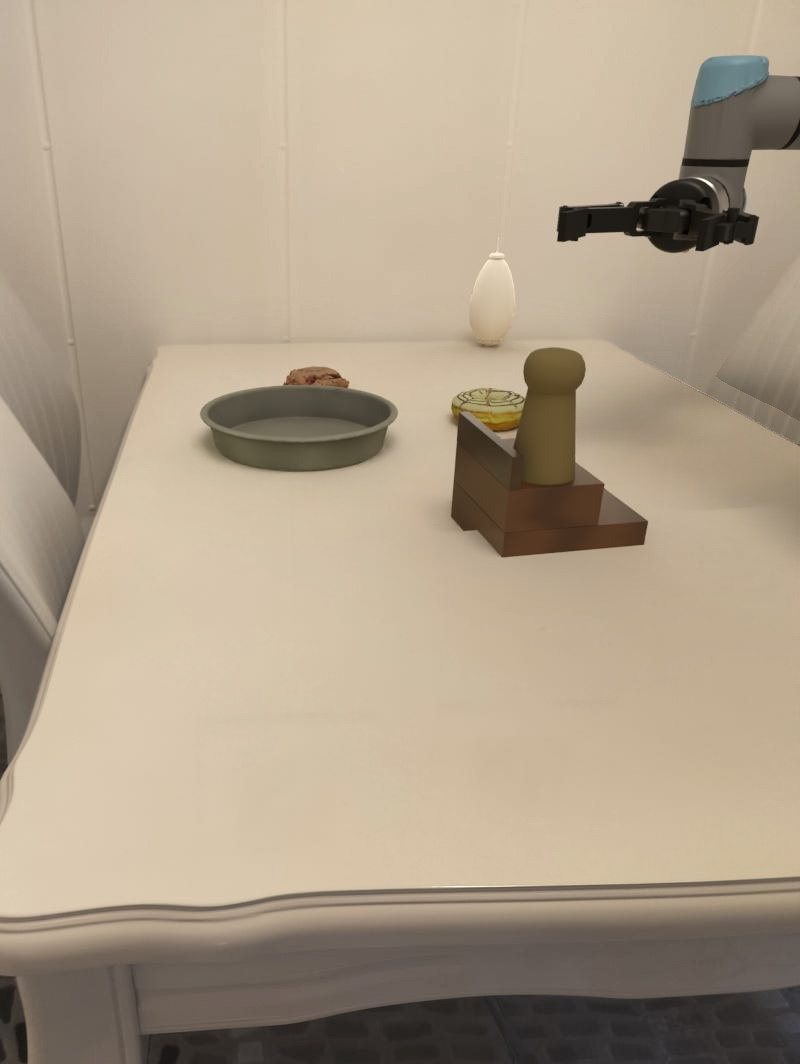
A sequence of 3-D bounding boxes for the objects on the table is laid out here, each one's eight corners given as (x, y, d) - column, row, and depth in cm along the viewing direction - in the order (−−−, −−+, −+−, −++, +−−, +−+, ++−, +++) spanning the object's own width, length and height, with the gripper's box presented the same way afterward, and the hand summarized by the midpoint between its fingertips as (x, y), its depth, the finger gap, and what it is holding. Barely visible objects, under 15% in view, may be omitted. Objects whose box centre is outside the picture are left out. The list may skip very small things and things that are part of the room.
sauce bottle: (458, 344, 166) (466, 236, 157) (485, 338, 171) (494, 233, 162) (492, 352, 161) (503, 241, 152) (519, 345, 166) (531, 237, 157)
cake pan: (407, 421, 125) (409, 388, 122) (380, 483, 104) (382, 444, 102) (234, 410, 129) (232, 378, 127) (174, 468, 108) (171, 430, 106)
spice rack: (575, 506, 98) (590, 404, 92) (641, 560, 86) (663, 447, 81) (450, 516, 95) (458, 411, 90) (500, 573, 84) (513, 457, 78)
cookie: (334, 379, 145) (334, 359, 143) (357, 396, 136) (357, 375, 134) (273, 383, 142) (273, 364, 140) (293, 401, 133) (292, 380, 132)
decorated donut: (530, 413, 128) (533, 386, 126) (526, 436, 119) (530, 407, 117) (455, 408, 130) (457, 381, 128) (446, 430, 121) (448, 401, 119)
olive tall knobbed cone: (496, 476, 83) (508, 351, 77) (523, 458, 87) (537, 338, 82) (559, 489, 80) (577, 361, 74) (585, 470, 84) (603, 347, 79)
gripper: (795, 257, 100) (757, 283, 85) (574, 242, 112) (505, 262, 97) (813, 181, 97) (777, 193, 81) (583, 174, 109) (513, 183, 93)
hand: (629, 231), depth 89 cm, fingers open, 13 cm apart
